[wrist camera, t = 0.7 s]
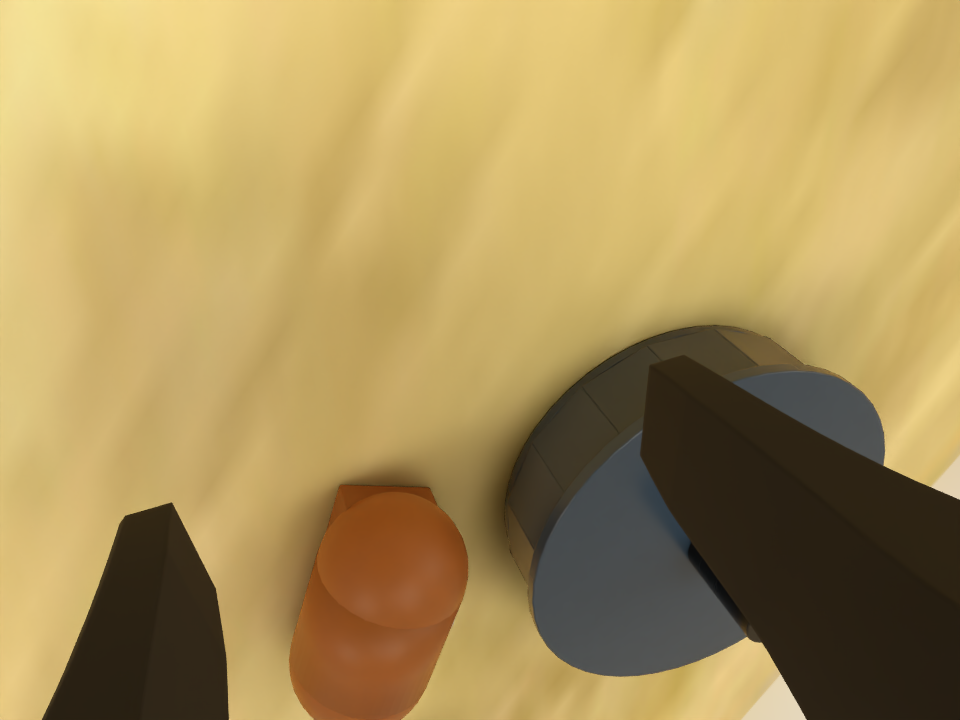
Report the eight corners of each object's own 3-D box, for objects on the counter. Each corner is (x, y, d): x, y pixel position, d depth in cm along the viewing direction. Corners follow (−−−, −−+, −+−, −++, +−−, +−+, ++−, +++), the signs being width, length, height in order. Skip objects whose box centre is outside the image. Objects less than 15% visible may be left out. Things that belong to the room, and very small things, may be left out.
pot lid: (752, 642, 34) (823, 734, 30) (467, 666, 27) (513, 786, 24) (928, 374, 28) (1043, 449, 24) (616, 328, 21) (707, 419, 18)
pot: (712, 586, 35) (758, 646, 33) (460, 597, 30) (490, 670, 27) (856, 346, 30) (925, 393, 27) (581, 301, 24) (634, 356, 21)
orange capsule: (393, 643, 30) (427, 757, 26) (268, 652, 28) (286, 776, 24) (459, 464, 26) (511, 566, 22) (321, 458, 24) (352, 570, 20)
